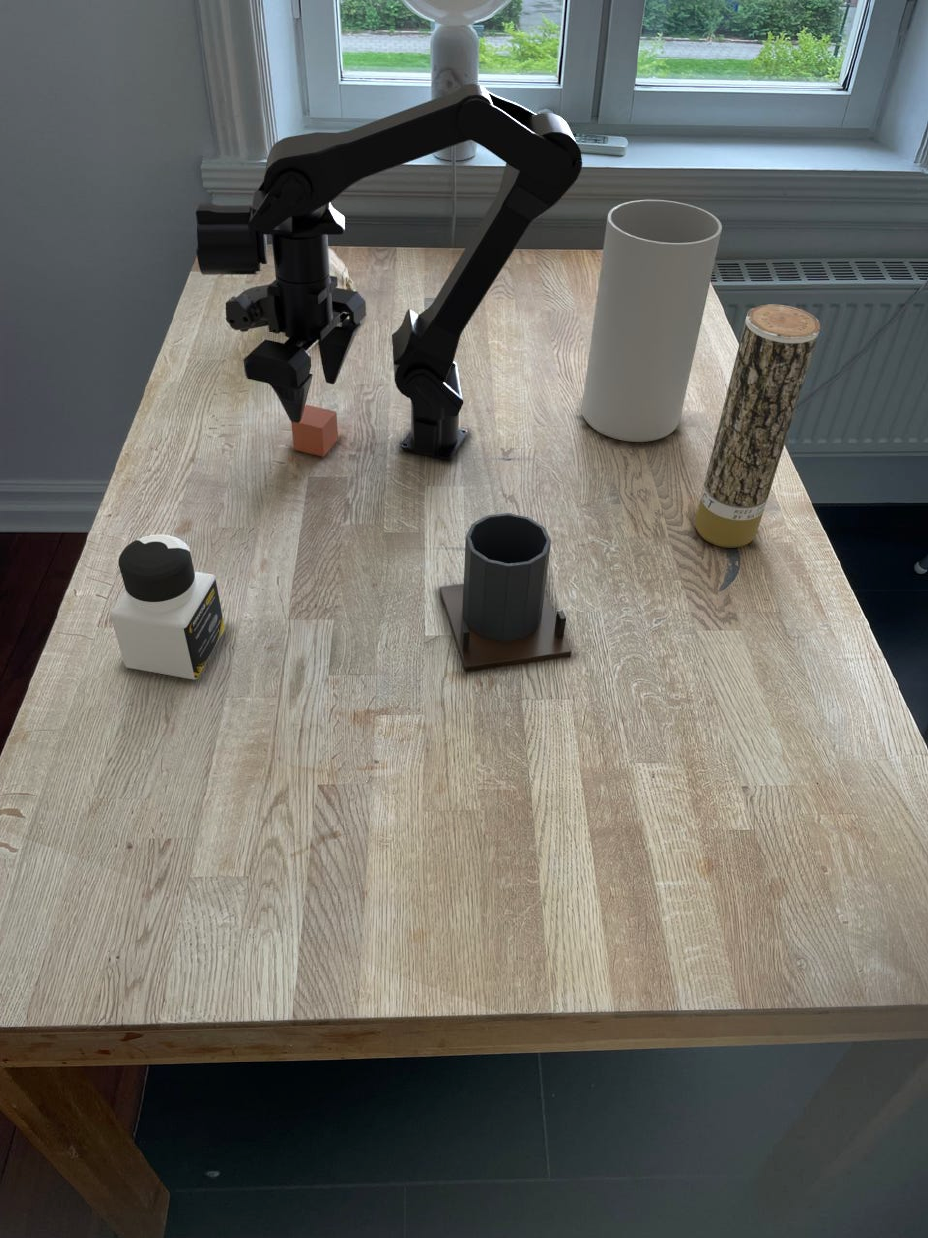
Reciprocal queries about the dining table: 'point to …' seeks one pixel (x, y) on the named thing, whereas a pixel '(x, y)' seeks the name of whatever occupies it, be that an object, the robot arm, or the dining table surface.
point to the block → (315, 431)
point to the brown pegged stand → (496, 654)
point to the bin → (505, 576)
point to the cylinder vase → (648, 317)
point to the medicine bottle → (166, 609)
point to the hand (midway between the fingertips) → (313, 401)
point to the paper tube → (755, 422)
